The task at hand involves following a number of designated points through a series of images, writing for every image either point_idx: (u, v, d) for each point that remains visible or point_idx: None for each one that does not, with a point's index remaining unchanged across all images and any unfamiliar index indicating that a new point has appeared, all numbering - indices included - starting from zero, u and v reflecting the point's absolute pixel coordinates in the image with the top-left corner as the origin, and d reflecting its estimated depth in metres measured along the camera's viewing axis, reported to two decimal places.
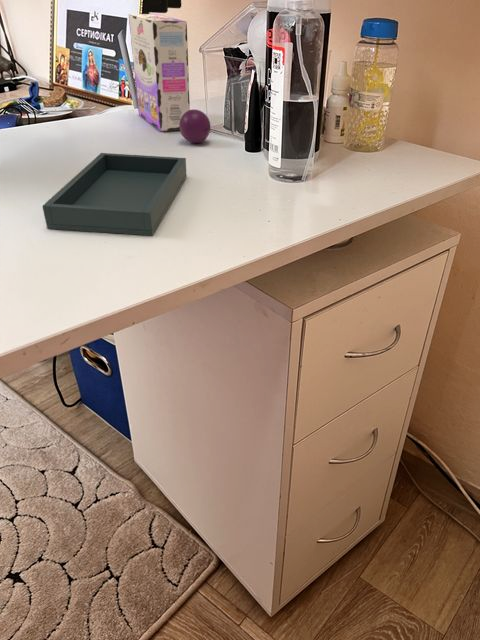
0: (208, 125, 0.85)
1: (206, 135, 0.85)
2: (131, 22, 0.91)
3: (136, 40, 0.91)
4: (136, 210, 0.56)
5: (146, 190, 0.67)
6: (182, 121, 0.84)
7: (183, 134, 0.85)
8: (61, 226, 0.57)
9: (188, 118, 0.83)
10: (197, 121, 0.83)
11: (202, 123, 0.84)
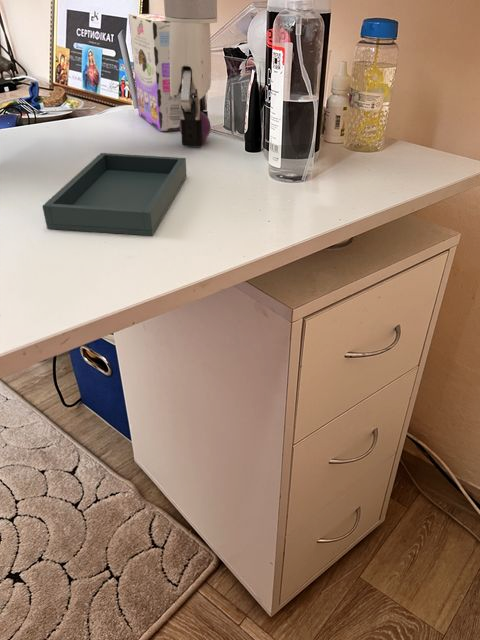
0: (208, 125, 0.85)
1: (206, 135, 0.85)
2: (131, 22, 0.91)
3: (136, 40, 0.91)
4: (136, 210, 0.56)
5: (146, 190, 0.67)
6: None
7: None
8: (61, 226, 0.57)
9: None
10: None
11: (202, 123, 0.84)
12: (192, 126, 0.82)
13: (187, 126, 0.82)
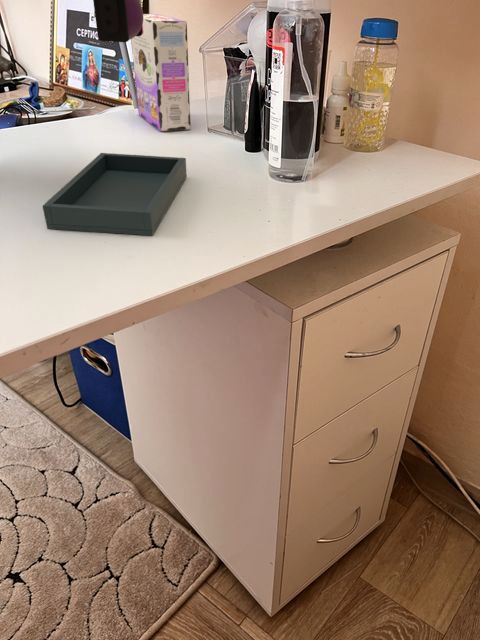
0: (138, 10, 0.56)
1: (136, 27, 0.57)
2: None
3: (136, 40, 0.91)
4: (136, 210, 0.56)
5: (146, 190, 0.67)
6: None
7: None
8: (61, 226, 0.57)
9: None
10: None
11: (128, 5, 0.55)
12: (110, 6, 0.53)
13: (102, 7, 0.53)
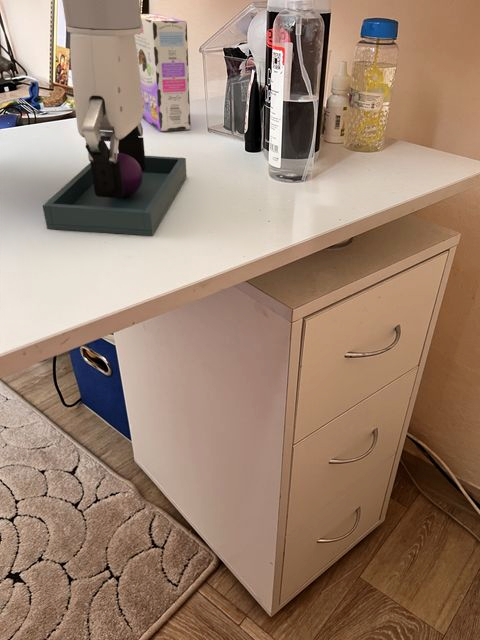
0: (137, 172, 0.62)
1: (137, 186, 0.63)
2: None
3: (136, 40, 0.91)
4: (136, 210, 0.56)
5: (146, 190, 0.67)
6: None
7: None
8: (61, 226, 0.57)
9: None
10: None
11: (127, 172, 0.61)
12: (106, 171, 0.58)
13: (99, 171, 0.58)
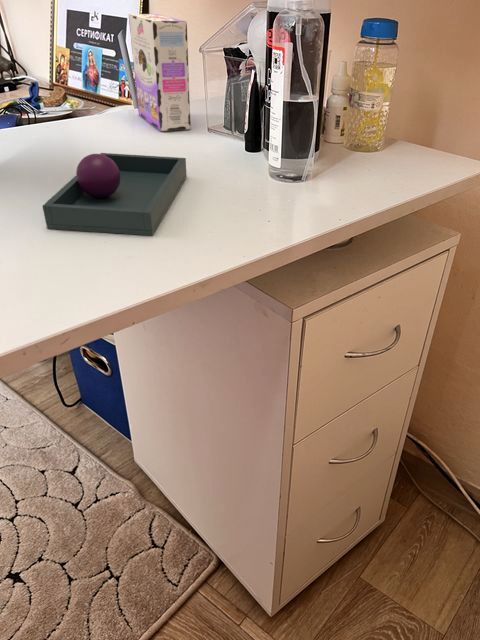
0: (99, 162, 0.61)
1: (111, 171, 0.61)
2: (131, 22, 0.91)
3: (136, 40, 0.91)
4: (136, 210, 0.56)
5: (146, 190, 0.67)
6: (85, 192, 0.63)
7: (101, 197, 0.63)
8: (61, 226, 0.57)
9: (82, 185, 0.62)
10: (88, 176, 0.61)
11: (93, 172, 0.60)
12: None
13: None
